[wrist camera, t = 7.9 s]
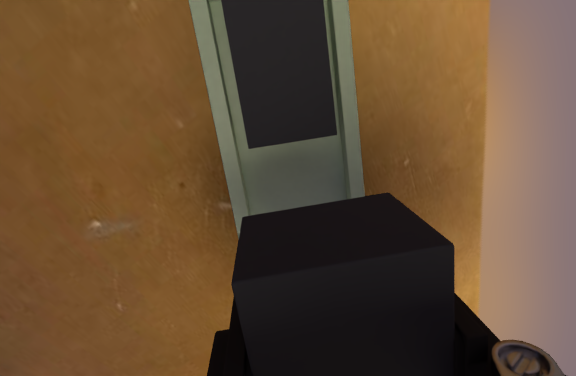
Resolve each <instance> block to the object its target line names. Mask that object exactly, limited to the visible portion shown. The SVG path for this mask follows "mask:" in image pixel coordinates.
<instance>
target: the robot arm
mask: <svg viewBox="0 0 576 376" xmlns="http://www.w3.org/2000/svg"><path fill="white" fill-rule="evenodd" d="M454 313H455V339H454V376H566V375H564V374H563V372H562V371H561V369H560V368H559V367H558V365H557V363H556V362H555V361H554V360H553V358H552V357H551V356H550V355H549V354H547V353H546V352H544V351H543V350H542V349H540V348H538V347H536V346H534V345H532V344H529V343H526V342H523V341H517V340H503V341H500V340H499V339H498V338H497V337H496V336H495V335H494V334H493V333H492V332H491V330H490V329H489V328H488V327H487V326H486V325H485V324H484V323H483V322H482V321H481V320H480V319H479V318H478V317H477V316H476V315H475V314H474V313H473V312H472V310H471V309H470V308H469V307H468V306H467V305H466V304H465V303H464V302H463V301H462V300H461V299H460V298H459V297H458V296H457V295H456V294H455V293H454ZM207 376H253V375H252V372H251V368H250V363H249V359H248V354H247V350H246V346H245V341H244V337H243V333H242V328H241V324H240V320H239V315H238V311H237V307H236V302H235V298H234V299H233V306H232V313H231V321H230V328H229V329H228V330H222V331H217V332H216V333H215V337H214V342H213V347H212V352H211V358H210V363H209V368H208V373H207Z"/></svg>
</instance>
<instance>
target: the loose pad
mask: <svg viewBox="0 0 576 376" xmlns="http://www.w3.org/2000/svg"><path fill="white" fill-rule="evenodd" d="M231 285H232V289H233V293H234V298H235V302H236V307H237V311H238V315H239V320H240V324H241V328H242V333H243V337H244V341H245V346H246V350H247V354H248V359H249V363H250V368H251V372H252V375H253V376H454V339H455V313H454V245H453V243H451V242H450V241H449V240H448V239H446V238H445V237H444V236H443V235H441V234H440V233H439V232H438V231H436V230H435V229H434V228H433V227H431V226H430V225H429V224H428V223H426V222H425V221H424V220H423V219H421V218H420V217H419V216H417V215H416V214H415V213H414V212H412V211H411V210H410V209H409V208H407V207H406V206H405V205H404V204H402V203H401V202H400V201H399V200H397V199H396V198H395V197H394V196H392V195H391V194H390V193H382V194H376V195H370V196H364V197H358V198H352V199H346V200H340V201H334V202H328V203H322V204H316V205H310V206H304V207H298V208H292V209H286V210H280V211H274V212H268V213H262V214H256V215H250V216H244V217H242V222H241V228H240V234H239V240H238V247H237V253H236V259H235V265H234V271H233V278H232V284H231Z"/></svg>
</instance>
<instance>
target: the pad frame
mask: <svg viewBox="0 0 576 376" xmlns="http://www.w3.org/2000/svg"><path fill="white" fill-rule="evenodd" d="M323 2H324V11H325V21H326V30H327V40H328V49H329V59H330V68H331V78H332V88H333V97H334V107H335V116H336V126H337V135H334V136H328V137H322V138H316V139H309V140H303V141H297V142H290V143H284V144H278V145H272V146H265V147H259V148H253V149H249V148H248V144H247V138H246V133H245V128H244V122H243V117H242V111H241V106H240V101H239V95H238V90H237V84H236V79H235V73H234V68H233V63H232V57H231V52H230V46H229V41H228V36H227V30H226V25H225V19H224V14H223V8H222V3H221V0H189V5H190V10H191V15H192V19H193V24H194V29H195V34H196V38H197V43H198V48H199V53H200V57H201V62H202V67H203V72H204V76H205V81H206V86H207V91H208V95H209V100H210V105H211V110H212V115H213V119H214V124H215V129H216V134H217V138H218V143H219V148H220V153H221V157H222V162H223V167H224V172H225V176H226V181H227V186H228V191H229V195H230V200H231V205H232V210H233V214H234V219H235V224H236V229H237V234H238V238H239V234H240V228H241V222H242V217H244V216H250V215H256V214H262V213H268V212H274V211H280V210H286V209H292V208H298V207H304V206H310V205H316V204H322V203H328V202H334V201H340V200H346V199H352V198H358V197H364V196H365V191H364V180H363V168H362V156H361V144H360V133H359V121H358V109H357V98H356V86H355V74H354V62H353V51H352V39H351V27H350V15H349V4H348V0H323Z"/></svg>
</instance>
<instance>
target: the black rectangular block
mask: <svg viewBox="0 0 576 376" xmlns="http://www.w3.org/2000/svg"><path fill="white" fill-rule="evenodd" d="M221 3H222V8H223V14H224V19H225V25H226V30H227V36H228V41H229V46H230V52H231V57H232V63H233V68H234V73H235V79H236V84H237V90H238V95H239V101H240V106H241V111H242V117H243V122H244V128H245V133H246V138H247V144H248V148H249V149H253V148H259V147H265V146H272V145H278V144H284V143H290V142H297V141H303V140H309V139H316V138H322V137H328V136H334V135H337V126H336V116H335V107H334V97H333V88H332V78H331V68H330V59H329V49H328V40H327V30H326V21H325V11H324V2H323V0H221Z"/></svg>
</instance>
